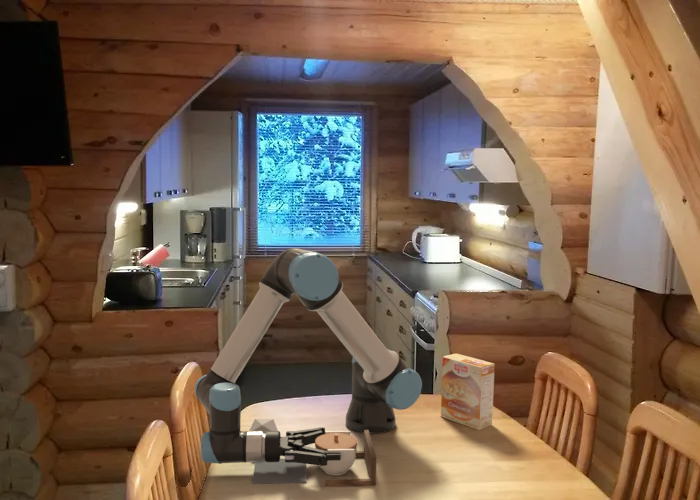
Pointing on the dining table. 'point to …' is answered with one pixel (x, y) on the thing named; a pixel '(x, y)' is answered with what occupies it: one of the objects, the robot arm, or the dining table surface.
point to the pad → (279, 472)
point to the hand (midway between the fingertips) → (352, 445)
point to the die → (263, 425)
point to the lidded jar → (336, 443)
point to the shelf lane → (370, 465)
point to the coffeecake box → (467, 391)
